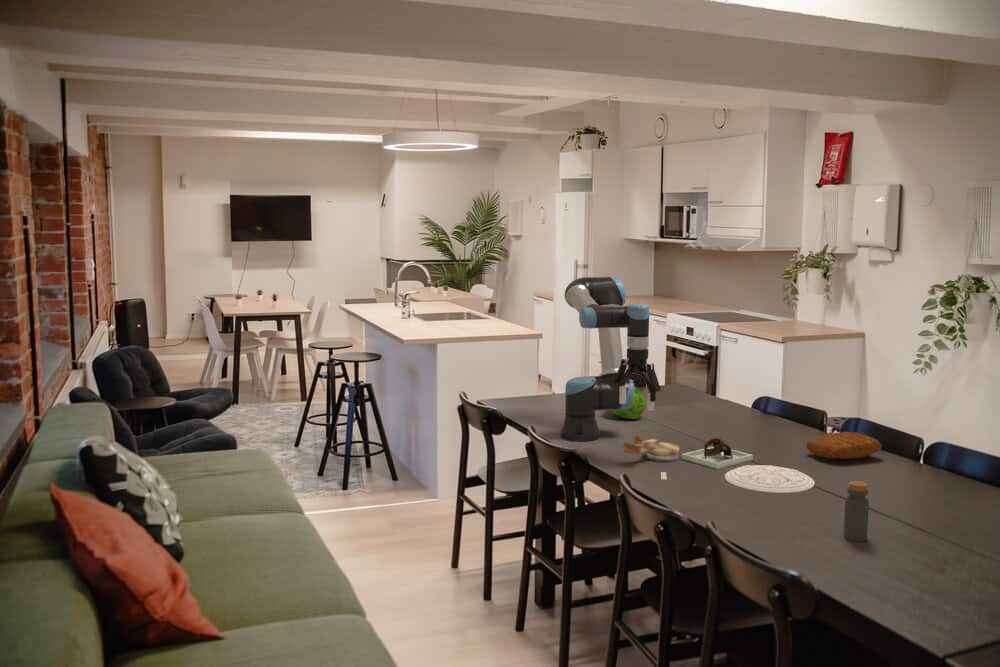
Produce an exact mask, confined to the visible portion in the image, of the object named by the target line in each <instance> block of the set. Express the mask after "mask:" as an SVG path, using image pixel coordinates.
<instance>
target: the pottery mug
mask: <svg viewBox="0 0 1000 667" xmlns="http://www.w3.org/2000/svg"><path fill="white" fill-rule="evenodd" d="M710 445H712V447H714V448H712V449H707V448H709V446H710ZM703 449H704V456H705V458H706V456H712V455H713V456H714V455H717V454H719V455H721V452H722V451H723V453H724V456H731V459H733V456H732V451H731V449H732V448H731V447H730V445H729V443H727V442H726V441H724V440H723V439H722V438H721V437H714V438H711V439H709V440H707V441H706V442H705V443H704V445H703Z"/></svg>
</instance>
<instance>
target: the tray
mask: <svg viewBox="0 0 1000 667" xmlns="http://www.w3.org/2000/svg"><path fill="white" fill-rule="evenodd" d="M712 448H714V446H711V447H707V449H712ZM731 451H732V456H733V459H731V456H724V453H723V451H722V452H721V455H719V454H717V455H714V456H713V455H712V456H706V458H705V456H704V448H701V449H697V450H693V451H687V452H685V453H681V460H682V461H686V462H690V463H693V464H697V465H700V466H703V467H707V468H710V469H714V470H720V469H724V468H725V469H726V468H729V467H733V466H736V465H740V464H745V463H748V462H753V461H754V454H751V453H747V452H742V451H739V450H735V449H732V448H731ZM752 460H753V461H752Z"/></svg>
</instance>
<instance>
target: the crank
mask: <svg viewBox="0 0 1000 667" xmlns="http://www.w3.org/2000/svg"><path fill="white" fill-rule="evenodd" d="M680 447H681V446H680V445H678V444H675V443H672V442H666V441H665V442H662V441H661V442H660V440H659V439H657V438H651V439H647V440H643V436H642V435H639V434H638V435H635V436H634V442H633V443H630V442H627V441H626V442H623V450H622V451H623V452H625V453H629V454H632V455H634V456H641V455H642V453H644V452H646V453H647V452H649V453H652V454H658V455H672V454H677V453H678V454H679V453H680Z"/></svg>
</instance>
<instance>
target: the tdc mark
mask: <svg viewBox="0 0 1000 667" xmlns="http://www.w3.org/2000/svg"><path fill="white" fill-rule="evenodd" d="M667 479H668V478H667V472H666V471H665V472H664V471H660V480H661V481H667Z"/></svg>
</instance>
